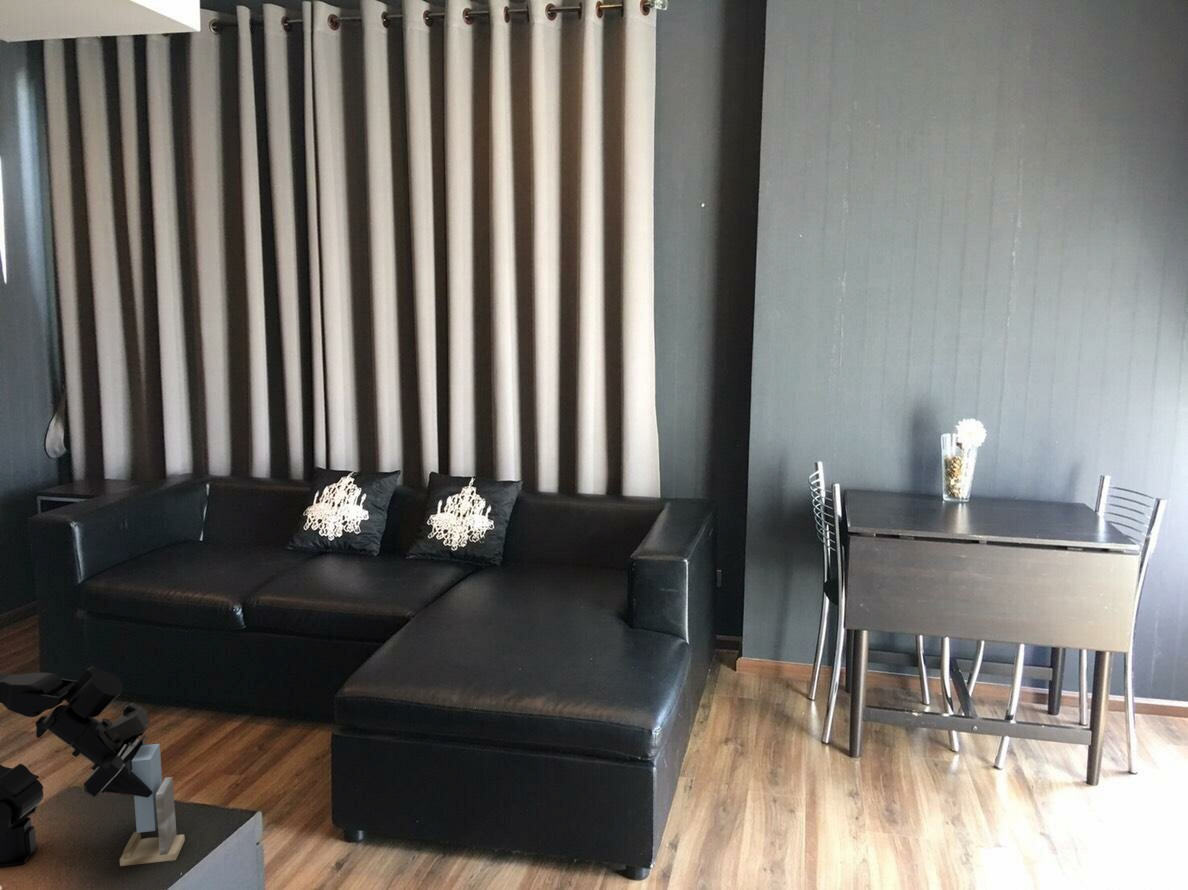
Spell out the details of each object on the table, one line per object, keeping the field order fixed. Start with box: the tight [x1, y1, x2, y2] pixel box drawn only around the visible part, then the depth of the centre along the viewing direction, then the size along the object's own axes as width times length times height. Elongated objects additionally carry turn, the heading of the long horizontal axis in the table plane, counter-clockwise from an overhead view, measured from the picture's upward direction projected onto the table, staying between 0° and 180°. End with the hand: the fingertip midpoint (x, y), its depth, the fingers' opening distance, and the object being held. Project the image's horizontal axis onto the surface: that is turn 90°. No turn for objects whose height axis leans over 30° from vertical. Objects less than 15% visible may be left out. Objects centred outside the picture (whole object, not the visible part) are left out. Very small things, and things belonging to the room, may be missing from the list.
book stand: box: [119, 776, 186, 867], centre depth 166 cm, size 9×6×12 cm
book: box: [131, 743, 163, 833], centre depth 167 cm, size 3×6×13 cm, turn 12°
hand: (155, 786), depth 167 cm, fingers closed on book, 6 cm apart
